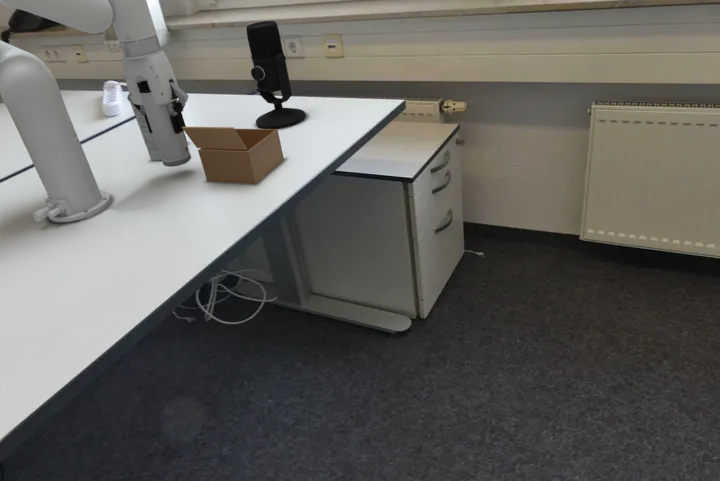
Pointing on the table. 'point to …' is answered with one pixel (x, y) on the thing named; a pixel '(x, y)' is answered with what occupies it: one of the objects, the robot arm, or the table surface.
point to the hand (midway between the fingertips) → (168, 130)
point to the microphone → (271, 75)
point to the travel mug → (164, 130)
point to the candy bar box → (148, 136)
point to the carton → (244, 158)
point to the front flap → (215, 137)
